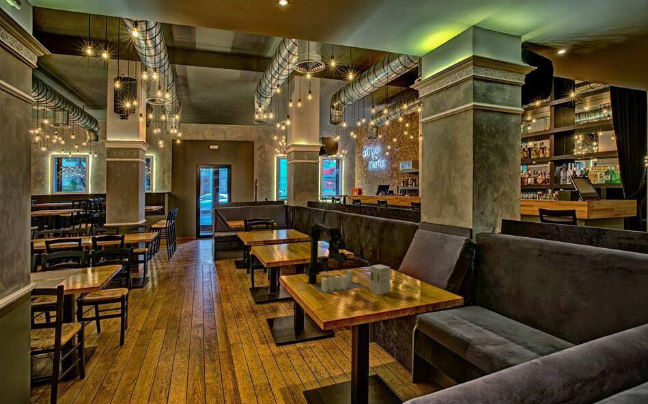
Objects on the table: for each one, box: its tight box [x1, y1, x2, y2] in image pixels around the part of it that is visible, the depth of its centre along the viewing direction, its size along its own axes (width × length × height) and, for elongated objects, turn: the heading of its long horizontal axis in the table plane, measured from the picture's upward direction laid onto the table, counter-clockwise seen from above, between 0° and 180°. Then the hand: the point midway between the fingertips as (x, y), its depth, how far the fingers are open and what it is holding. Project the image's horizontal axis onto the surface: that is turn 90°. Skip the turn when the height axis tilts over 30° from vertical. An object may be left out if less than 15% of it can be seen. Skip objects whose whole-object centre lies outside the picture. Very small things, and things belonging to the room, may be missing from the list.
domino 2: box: [327, 276, 335, 291], centre depth 228 cm, size 5×2×8 cm, turn 29°
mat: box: [311, 281, 366, 294], centre depth 236 cm, size 18×32×1 cm, turn 119°
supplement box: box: [369, 264, 391, 295], centre depth 226 cm, size 10×9×17 cm
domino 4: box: [340, 274, 347, 289], centre depth 233 cm, size 5×2×8 cm, turn 29°
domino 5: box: [345, 269, 354, 283], centre depth 247 cm, size 5×2×8 cm, turn 29°
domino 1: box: [320, 277, 328, 292], centre depth 225 cm, size 5×2×8 cm, turn 29°
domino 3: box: [334, 275, 341, 290], centre depth 230 cm, size 5×2×8 cm, turn 29°
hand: (333, 271), depth 220 cm, fingers open, 9 cm apart
